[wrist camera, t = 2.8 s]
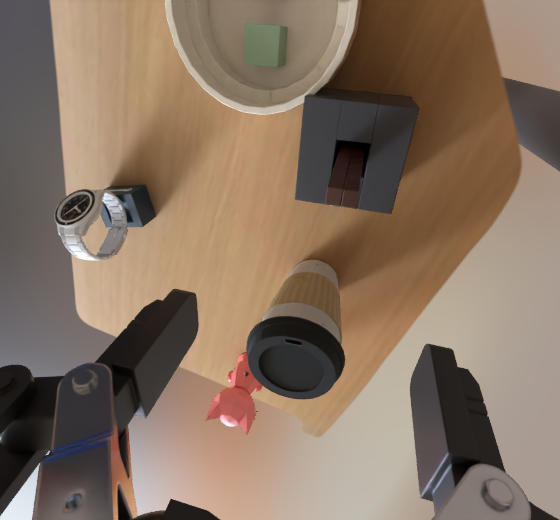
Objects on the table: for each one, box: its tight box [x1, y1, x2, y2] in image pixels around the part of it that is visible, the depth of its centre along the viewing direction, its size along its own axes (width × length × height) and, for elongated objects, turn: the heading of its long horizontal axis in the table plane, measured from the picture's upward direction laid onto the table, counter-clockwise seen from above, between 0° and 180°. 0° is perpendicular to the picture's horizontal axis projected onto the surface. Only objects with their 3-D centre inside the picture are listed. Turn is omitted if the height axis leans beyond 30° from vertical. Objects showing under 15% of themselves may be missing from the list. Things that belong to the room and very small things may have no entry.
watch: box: [54, 185, 156, 260], centre depth 40 cm, size 6×8×11 cm
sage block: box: [245, 23, 288, 67], centre depth 30 cm, size 3×3×3 cm
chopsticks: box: [325, 140, 365, 209], centre depth 28 cm, size 2×1×16 cm, turn 86°
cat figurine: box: [206, 353, 263, 435], centre depth 51 cm, size 7×7×12 cm
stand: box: [295, 88, 419, 214], centre depth 32 cm, size 9×9×7 cm
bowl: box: [165, 0, 361, 115], centre depth 28 cm, size 15×15×6 cm
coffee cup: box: [246, 260, 345, 399], centre depth 38 cm, size 10×10×15 cm
